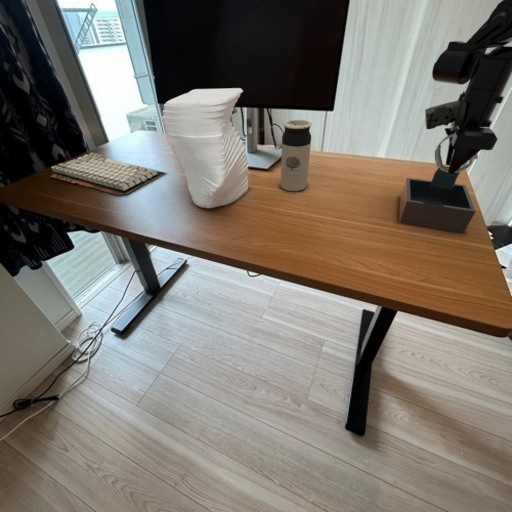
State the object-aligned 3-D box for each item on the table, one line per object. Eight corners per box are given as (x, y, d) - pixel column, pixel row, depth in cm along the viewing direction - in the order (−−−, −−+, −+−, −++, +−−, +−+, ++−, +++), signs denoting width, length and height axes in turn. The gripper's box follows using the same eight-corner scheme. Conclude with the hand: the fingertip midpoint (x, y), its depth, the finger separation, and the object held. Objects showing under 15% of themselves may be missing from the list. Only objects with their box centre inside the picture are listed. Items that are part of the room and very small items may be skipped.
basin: (455, 205, 71) (465, 185, 68) (463, 233, 62) (476, 211, 58) (399, 197, 76) (406, 177, 72) (399, 222, 66) (407, 201, 62)
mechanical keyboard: (166, 173, 94) (163, 164, 91) (123, 198, 81) (119, 187, 79) (93, 159, 107) (90, 150, 105) (47, 178, 95) (42, 168, 93)
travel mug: (287, 178, 87) (290, 118, 76) (310, 183, 84) (317, 121, 72) (276, 188, 82) (277, 125, 71) (299, 194, 79) (304, 128, 67)
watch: (461, 192, 59) (486, 139, 52) (421, 183, 63) (439, 134, 57) (465, 183, 63) (489, 133, 56) (427, 176, 67) (445, 128, 60)
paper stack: (259, 180, 87) (257, 88, 70) (226, 225, 67) (211, 112, 51) (201, 174, 92) (186, 86, 76) (155, 213, 73) (121, 108, 57)
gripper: (432, 80, 59) (409, 151, 70) (441, 95, 46) (410, 180, 56) (493, 81, 56) (459, 156, 66) (520, 98, 43) (473, 188, 53)
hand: (449, 168), depth 60 cm, fingers closed on watch, 4 cm apart
